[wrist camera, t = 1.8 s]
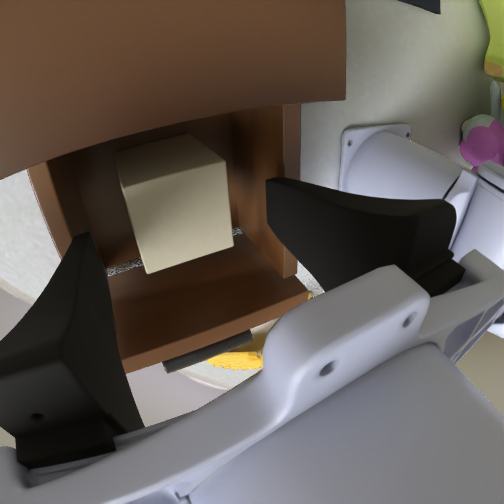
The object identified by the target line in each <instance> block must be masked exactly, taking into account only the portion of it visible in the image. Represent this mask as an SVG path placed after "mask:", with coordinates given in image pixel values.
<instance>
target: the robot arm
mask: <svg viewBox="0 0 504 504" xmlns="http://www.w3.org/2000/svg"><path fill="white" fill-rule="evenodd" d="M410 138H411V125H409V124H393V125H382V126H371V127H362V128H353V129H347V130H345V131H344V132H343V135H342V150H341V165H340V178H339V190H334V189H330V188H326V187H322V186H318V185H315V184H311V183H307V182H303V181H299V180H295V179H291V178H286V177H275V178H271V179H267V180H265V186H266V216H267V224H268V225H269V227H270V228H271V230H272V231H273V233H274V234H275V235H276V237H277V238H278V240H279V241H280V242H281V243H282V244H283V245H284V246H285V247H286V248H287V249H288V250H289V251H290V252H291V253H292V254H293V256H294V257H295V258H296V259H297V260H298V261H299V262H300V263H301V264H302V265H303V266H304V267H305V268H306V269H307V270H308V271H309V272H310V273H311V274H312V276H313V277H314V278H315V279H316V280H317V282H318V283H319V284H320V286H321V287H322V288H323V290H324V291H325V293H323V294H320V295H318V296H316V297H314V298H311V299H309V300H307V301H304V302H302V303H301V304H299V305H297V306H296V307H294V308H293V309H291V310H290V311H288V312H286V313H285V314H283V315H282V316H281V318H280V319H279V320H278V321H277V322H276V323H275V325H274V326H273V327H272V328H271V329H270V330H269V332H268V335H267V338H266V341H265V344H264V347H263V369H262V370H260V371H259V372H257V373H256V374H254V375H253V376H251V377H249V378H248V379H246V380H245V381H243V382H242V383H240V384H238V385H237V386H235V387H234V388H232V389H230V390H229V391H227V392H226V393H224V394H222V395H221V396H219V397H218V398H216V399H214V400H212V401H211V402H209V403H207V404H206V405H204V406H202V407H201V408H199V409H197V410H195V411H192V412H189V413H186V414H184V415H181V416H178V417H175V418H172V419H170V420H167V421H164V422H161V423H158V424H155V425H152V426H148V427H145V426H144V424H143V422H142V419H141V417H140V414H139V411H138V409H137V406H136V404H135V401H134V398H133V395H132V392H131V389H130V387H129V383H128V380H127V377H126V374H125V371H124V367H123V364H122V361H121V357H120V354H119V349H118V344H117V338H116V331H115V324H114V316H113V308H112V299H111V293H110V289H109V285H108V280H107V276H106V273H105V270H104V268H103V265H102V263H101V260H100V258H99V255H98V253H97V250H96V247H95V245H94V242H93V239H92V237H91V234H90V231H88V232H85V233H82V234H79V235H77V236H74V238H73V240H72V242H71V243H70V245H69V247H68V249H67V251H66V253H65V255H64V257H63V258H62V260H61V262H60V264H59V266H58V268H57V269H56V271H55V273H54V274H53V276H52V278H51V279H50V281H49V283H48V284H47V286H46V288H45V289H44V291H43V292H42V293H41V295H40V296H39V298H38V299H37V300H36V302H35V303H34V304H33V306H32V307H31V308H30V309H29V310H28V312H27V313H26V314H25V316H24V317H23V318H22V319H21V320H20V321H19V322H18V324H17V325H16V326H15V327H14V328H13V329H12V330H11V331H10V332H9V333H8V334H7V335H6V336H5V337H4V338H3V339H2V340H1V341H0V427H2V428H3V429H4V430H6V431H7V432H8V433H10V434H11V435H12V436H13V437H15V439H16V449H15V448H12V447H6V446H3V447H0V504H504V416H503V415H502V414H501V413H500V412H499V411H498V409H497V408H496V407H495V406H494V405H493V404H492V403H491V402H490V401H489V400H488V399H487V398H486V397H485V396H484V394H483V393H482V392H481V391H480V390H479V389H478V388H477V387H476V386H475V385H474V384H473V383H472V382H471V381H470V380H469V379H468V378H467V377H466V376H465V375H464V374H463V373H462V372H461V371H460V369H458V368H457V366H455V364H456V363H457V362H458V361H459V360H460V359H461V358H462V357H463V356H464V355H465V354H466V353H467V352H468V351H469V350H470V348H472V346H473V345H474V344H475V343H476V342H477V341H478V340H479V339H480V338H481V337H482V335H484V334H485V332H486V331H489V332H491V333H494V334H496V335H498V336H499V337H501V338H504V166H502V165H500V164H497V163H495V162H493V161H490V160H488V161H486V162H484V163H480V164H478V168H477V171H473V170H470V169H468V168H466V167H464V166H463V165H461V164H459V163H457V162H455V161H453V160H451V159H449V158H447V157H445V156H443V155H440V154H438V153H436V152H434V151H432V150H430V149H428V148H425V147H423V146H421V145H419V144H417V143H414V142H412V141H410ZM348 141H349V143H348ZM347 143H348V144H347Z"/></svg>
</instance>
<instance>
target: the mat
mask: <svg viewBox="0 0 504 504" xmlns="http://www.w3.org/2000/svg"><path fill="white" fill-rule="evenodd" d="M399 1H402V2H405V3H408V4H411V5H414V6H417V7H420V8H422V9H425V10H428V11H430V12H433V13H435V14H441V11H440V0H399Z"/></svg>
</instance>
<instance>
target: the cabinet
mask: <svg viewBox="0 0 504 504" xmlns="http://www.w3.org/2000/svg"><path fill="white" fill-rule="evenodd" d="M345 99H346V7H345V0H0V180H1V179H4V178H6V177H8V176H11V175H13V174H15V173H18V172H20V171H23V170H25V169H28V168H30V167H33V166H35V165H38V164H40V163H43V162H46V161H48V160H51V159H54V158H57V157H59V156H62V155H65V154H68V153H71V152H74V151H77V150H80V149H83V148H86V147H89V146H92V145H95V144H99V143H102V142H105V141H109V140H112V139H116V138H119V137H123V136H126V135H130V134H134V133H137V132H141V131H145V130H149V129H153V128H157V127H162V126H166V125H170V124H175V123H179V122H184V121H189V120H194V119H199V118H204V117H209V116H214V115H220V114H226V113H232V112H238V111H244V110H251V109H258V108H266V107H274V106H282V105H291V104H301V103H312V102H325V101H341V100H345Z"/></svg>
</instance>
